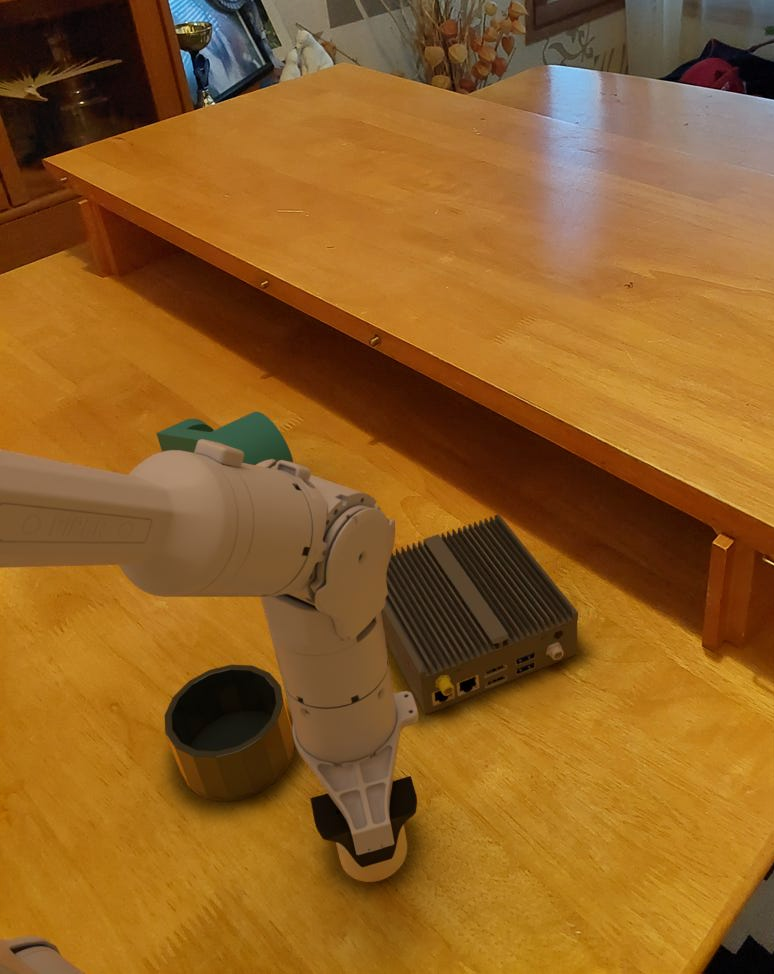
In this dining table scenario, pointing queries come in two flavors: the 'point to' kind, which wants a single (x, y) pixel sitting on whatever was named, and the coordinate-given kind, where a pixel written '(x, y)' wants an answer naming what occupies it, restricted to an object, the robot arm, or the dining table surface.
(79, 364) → the dining table surface
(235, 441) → the tape dispenser
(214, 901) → the dining table surface
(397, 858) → the brush
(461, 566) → the electronic device
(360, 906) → the dining table surface
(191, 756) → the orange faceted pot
